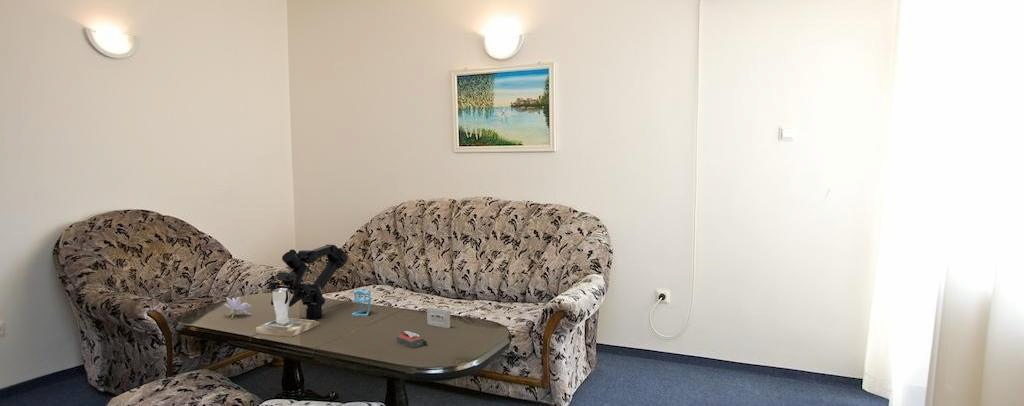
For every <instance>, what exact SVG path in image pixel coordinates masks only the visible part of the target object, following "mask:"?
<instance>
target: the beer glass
mask: <svg viewBox="0 0 1024 406" xmlns="http://www.w3.org/2000/svg"><path fill="white" fill-rule="evenodd" d="M272 298H273V305H272V306H273V309H274V313H275V320H276V325H277V326H285V325H288V324H290V323H291V321H290V318H291V317H290V308H291V307H289V303H290V301H291V296H290V290H289V289H288V288H278V289H274V290H273V295H272V294H271V299H272Z"/></svg>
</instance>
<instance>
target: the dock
mask: <svg viewBox="0 0 1024 406" xmlns="http://www.w3.org/2000/svg"><path fill="white" fill-rule="evenodd" d="M289 318H290V321H291V323H290V324H288V325H285V326H277V325H276V319H274V320H271V321H269V322H266V323H264V324H261V325H259V326H257V327H255V331H256V332H255V333H256V334H259V335H269V336H276V337H277V336H279V337H289V338H292V337H294V336H297V335H300V334H301V333H303V332H306V331H307V330H311V329H313V328H315V327H317V326H319V325H320V321H316V319H312V320H308V319H305V318H304V319H303V318H295V317H293V318H292V317H289Z"/></svg>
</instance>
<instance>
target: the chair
mask: <svg viewBox="0 0 1024 406" xmlns="http://www.w3.org/2000/svg"><path fill="white" fill-rule="evenodd" d="M371 292H372V291H371V290H369V289H365V290H362V289H356V290H355V289H354V292H353V295H354V300H353V303H357V304H358V305H359V307H360V308H361V310H358V311H355V312H352V313H351V316H352V317H353V316H354V317H369V314H370V312H371V311H370V309H371V302H372V300H373V299H372V297H371ZM367 294H368V295H367ZM357 295H358V296H357ZM362 295H363V297H362ZM362 303H363V304H365V303H366V304H367V309H366V311H365V308H364V306H363V304H362ZM364 312H366V313H364Z"/></svg>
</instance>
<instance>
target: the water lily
mask: <svg viewBox="0 0 1024 406" xmlns="http://www.w3.org/2000/svg"><path fill="white" fill-rule="evenodd" d="M225 298H226V302H227V303H223V305H224V306H225V307H226V308H229V310H230V309H231V310H230V311H229V313H230V316H231V318H230V319H231V320H233V319H234V316H235V314H236V313H239V314H242V315H246V316H251V315H252V313H251V312H249V311H248V310H246V309H249V308H250V307H252V304H249V303H248V302H243V303H242V302H241V301H242V298H241V297H240V296H238V297H236V298H234V297H232V299H230V298H229V297H227V296H226V297H225Z"/></svg>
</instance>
